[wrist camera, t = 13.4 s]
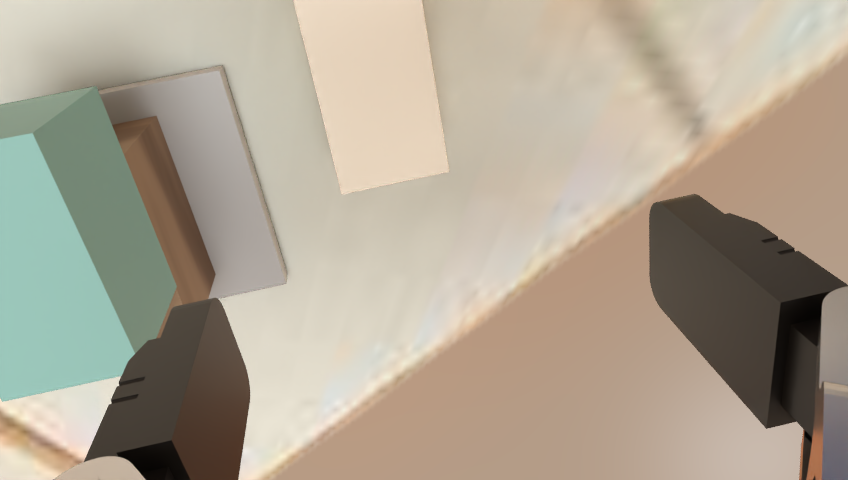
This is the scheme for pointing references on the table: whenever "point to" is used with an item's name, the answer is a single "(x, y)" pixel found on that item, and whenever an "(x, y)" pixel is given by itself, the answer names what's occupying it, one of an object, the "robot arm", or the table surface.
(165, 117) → the base plate
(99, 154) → the teal brick
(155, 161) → the walnut brick
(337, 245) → the table surface
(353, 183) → the cream brick
